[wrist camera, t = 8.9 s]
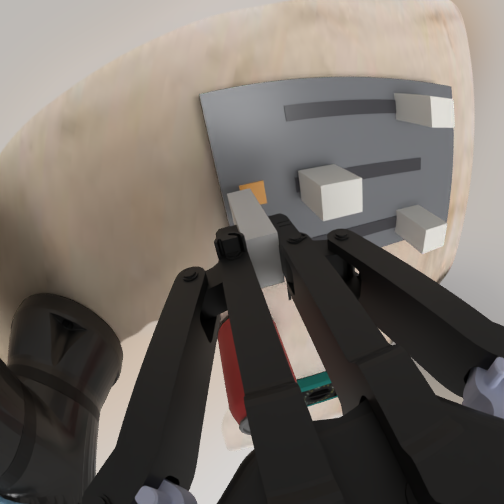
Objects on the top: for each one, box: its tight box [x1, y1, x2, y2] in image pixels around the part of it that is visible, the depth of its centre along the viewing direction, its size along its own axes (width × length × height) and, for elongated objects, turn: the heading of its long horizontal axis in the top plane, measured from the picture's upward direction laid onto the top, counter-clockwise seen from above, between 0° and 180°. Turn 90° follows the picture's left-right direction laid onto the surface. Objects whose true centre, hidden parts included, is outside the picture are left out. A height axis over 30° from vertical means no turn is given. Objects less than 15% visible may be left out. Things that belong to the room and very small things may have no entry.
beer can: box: [218, 318, 297, 435], centre depth 25 cm, size 7×7×12 cm
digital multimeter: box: [297, 371, 338, 407], centre depth 39 cm, size 7×15×3 cm, turn 97°
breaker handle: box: [298, 164, 363, 221], centre depth 18 cm, size 3×2×4 cm
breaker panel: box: [199, 77, 455, 254], centre depth 20 cm, size 24×16×7 cm, turn 100°
